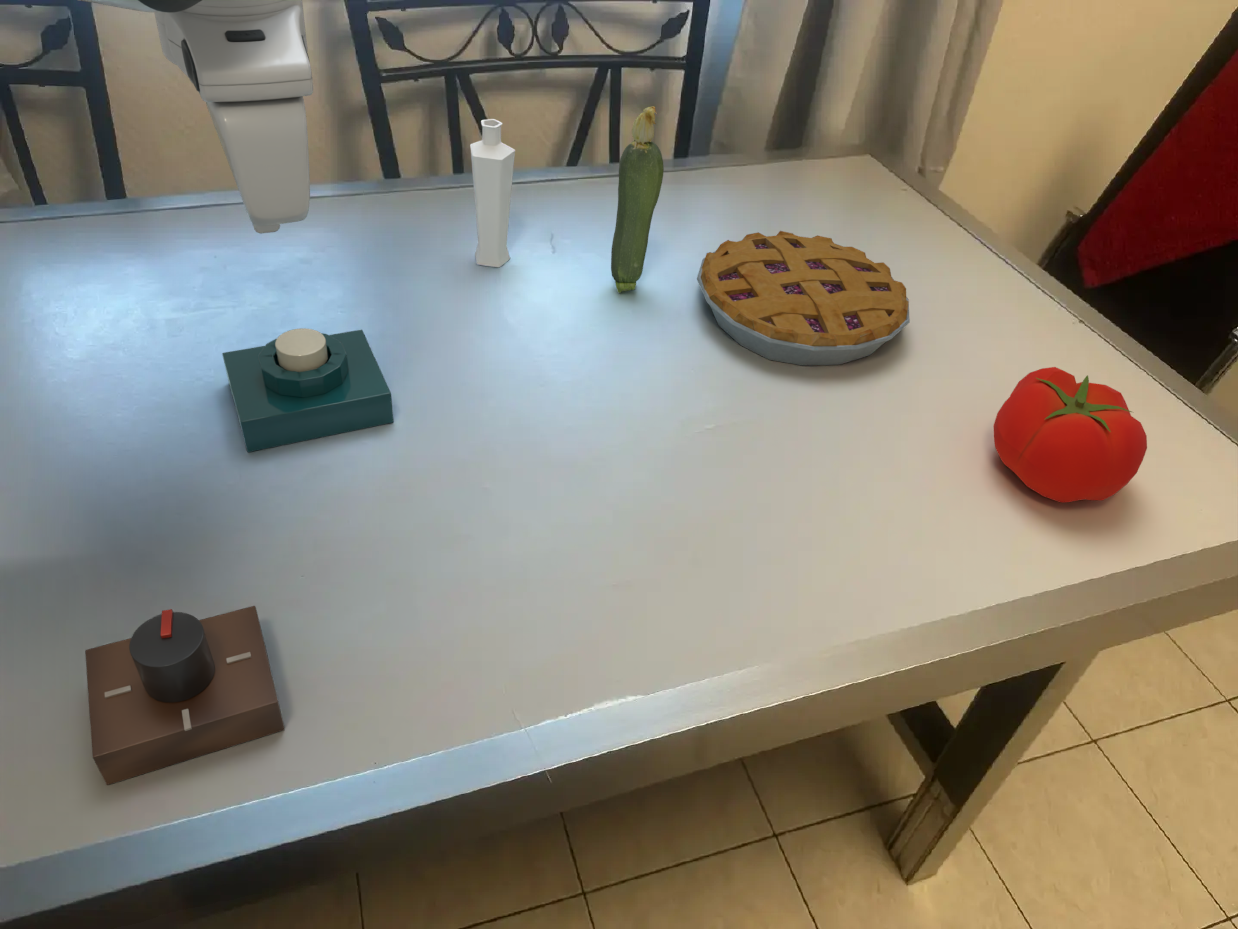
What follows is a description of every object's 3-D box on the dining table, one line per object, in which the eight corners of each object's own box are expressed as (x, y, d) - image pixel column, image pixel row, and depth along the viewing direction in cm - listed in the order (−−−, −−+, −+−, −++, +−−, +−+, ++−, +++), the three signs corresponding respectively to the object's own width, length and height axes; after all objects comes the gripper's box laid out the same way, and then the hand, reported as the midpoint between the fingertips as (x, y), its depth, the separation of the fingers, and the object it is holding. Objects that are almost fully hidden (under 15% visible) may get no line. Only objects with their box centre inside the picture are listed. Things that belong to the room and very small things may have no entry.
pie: (942, 360, 96) (958, 318, 93) (749, 390, 90) (759, 346, 86) (835, 253, 111) (845, 214, 108) (662, 273, 105) (668, 231, 101)
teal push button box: (247, 452, 77) (236, 404, 74) (228, 382, 84) (217, 334, 81) (393, 422, 82) (389, 375, 78) (365, 358, 88) (360, 312, 85)
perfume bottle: (460, 256, 103) (457, 120, 94) (491, 244, 106) (491, 110, 96) (488, 273, 101) (488, 136, 91) (519, 261, 104) (522, 125, 94)
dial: (215, 695, 57) (202, 656, 54) (141, 709, 56) (125, 669, 53) (215, 642, 60) (203, 603, 57) (145, 654, 58) (130, 615, 56)
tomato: (1152, 519, 81) (1201, 442, 75) (1018, 526, 79) (1058, 447, 73) (1076, 424, 90) (1115, 349, 85) (955, 428, 88) (986, 352, 82)
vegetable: (606, 277, 103) (622, 91, 90) (645, 278, 103) (668, 93, 90) (610, 299, 100) (628, 109, 86) (651, 300, 100) (675, 111, 87)
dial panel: (106, 787, 55) (91, 757, 53) (98, 677, 60) (84, 646, 58) (285, 731, 59) (277, 701, 57) (262, 632, 64) (254, 602, 62)
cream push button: (283, 376, 78) (279, 359, 77) (274, 349, 80) (270, 332, 79) (332, 367, 79) (330, 350, 78) (322, 341, 82) (320, 324, 81)
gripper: (160, -23, 66) (198, 167, 75) (201, 84, 53) (242, 300, 62) (255, -25, 68) (281, 160, 78) (318, 77, 55) (340, 286, 64)
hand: (264, 223), depth 70 cm, fingers closed
